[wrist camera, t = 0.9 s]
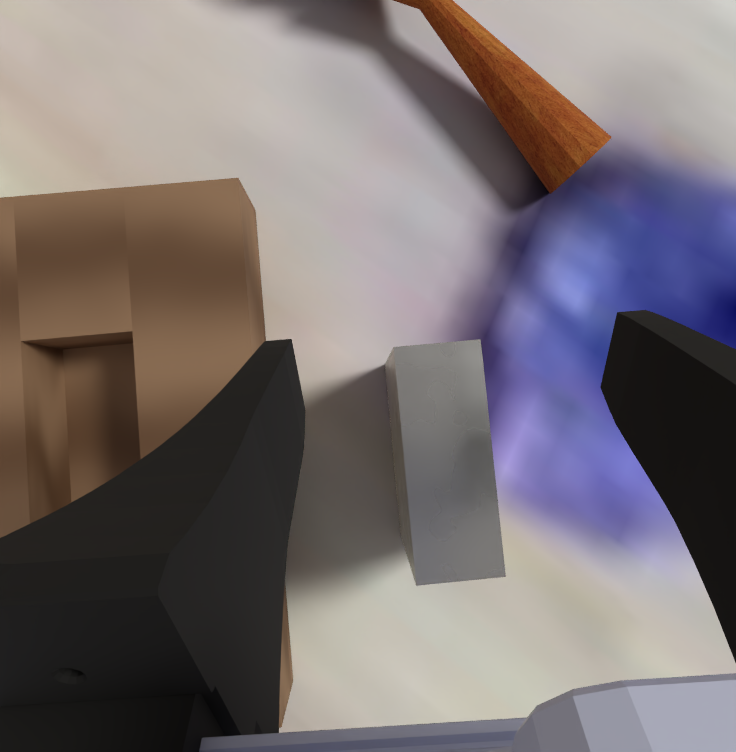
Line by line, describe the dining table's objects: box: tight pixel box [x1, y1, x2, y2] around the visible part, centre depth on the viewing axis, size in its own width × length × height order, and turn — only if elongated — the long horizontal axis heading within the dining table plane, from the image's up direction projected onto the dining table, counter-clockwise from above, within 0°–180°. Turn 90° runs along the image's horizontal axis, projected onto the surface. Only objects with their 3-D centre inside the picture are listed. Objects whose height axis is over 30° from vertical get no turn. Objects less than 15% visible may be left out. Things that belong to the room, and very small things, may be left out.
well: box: [0, 178, 293, 727], centre depth 23 cm, size 22×14×4 cm, turn 5°
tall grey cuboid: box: [385, 340, 506, 586], centre depth 21 cm, size 8×3×7 cm, turn 5°
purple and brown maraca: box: [394, 0, 611, 194], centre depth 24 cm, size 6×6×20 cm
